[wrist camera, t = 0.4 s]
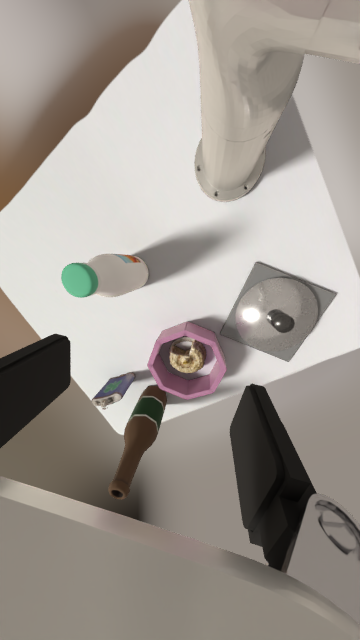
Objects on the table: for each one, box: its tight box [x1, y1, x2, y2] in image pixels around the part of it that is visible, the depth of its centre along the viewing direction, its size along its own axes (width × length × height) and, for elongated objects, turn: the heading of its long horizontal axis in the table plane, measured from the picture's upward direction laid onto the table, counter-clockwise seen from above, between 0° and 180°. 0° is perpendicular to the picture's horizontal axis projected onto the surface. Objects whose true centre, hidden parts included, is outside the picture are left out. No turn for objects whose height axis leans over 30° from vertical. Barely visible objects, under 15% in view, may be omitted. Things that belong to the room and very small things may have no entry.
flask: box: [92, 373, 135, 409], centre depth 48 cm, size 9×3×11 cm, turn 112°
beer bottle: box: [109, 386, 167, 499], centre depth 42 cm, size 8×8×24 cm
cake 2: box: [169, 337, 206, 373], centre depth 45 cm, size 10×10×5 cm
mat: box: [220, 262, 336, 362], centre depth 40 cm, size 18×18×1 cm
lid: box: [235, 278, 318, 351], centre depth 37 cm, size 17×17×6 cm
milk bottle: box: [62, 254, 148, 297], centre depth 33 cm, size 8×8×20 cm
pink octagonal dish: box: [147, 322, 227, 400], centre depth 44 cm, size 17×17×6 cm
